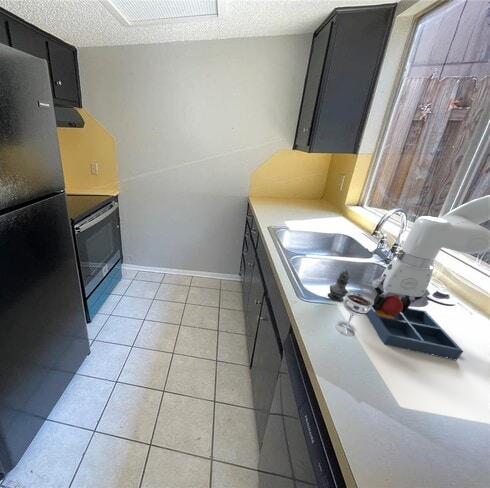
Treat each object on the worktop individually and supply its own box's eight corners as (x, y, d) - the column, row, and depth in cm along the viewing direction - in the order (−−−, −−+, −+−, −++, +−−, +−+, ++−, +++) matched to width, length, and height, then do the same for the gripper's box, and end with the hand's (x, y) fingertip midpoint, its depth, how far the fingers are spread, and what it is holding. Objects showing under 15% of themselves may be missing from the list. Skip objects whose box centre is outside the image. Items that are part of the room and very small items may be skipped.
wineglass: (343, 320, 84) (357, 290, 78) (363, 335, 78) (379, 304, 73) (327, 324, 82) (340, 293, 76) (347, 340, 76) (362, 308, 71)
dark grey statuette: (323, 292, 98) (333, 265, 92) (338, 293, 98) (350, 265, 92) (332, 302, 92) (343, 273, 87) (348, 302, 92) (361, 274, 87)
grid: (420, 318, 86) (425, 310, 85) (456, 360, 71) (463, 351, 70) (361, 307, 90) (365, 299, 89) (383, 344, 75) (388, 335, 74)
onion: (373, 313, 84) (384, 294, 80) (376, 305, 88) (386, 286, 84) (396, 323, 80) (408, 302, 77) (397, 314, 84) (409, 294, 81)
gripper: (386, 259, 74) (362, 308, 82) (460, 270, 70) (427, 321, 78) (375, 248, 81) (354, 295, 89) (442, 258, 76) (414, 306, 84)
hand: (389, 306), depth 83 cm, fingers closed on onion, 5 cm apart
